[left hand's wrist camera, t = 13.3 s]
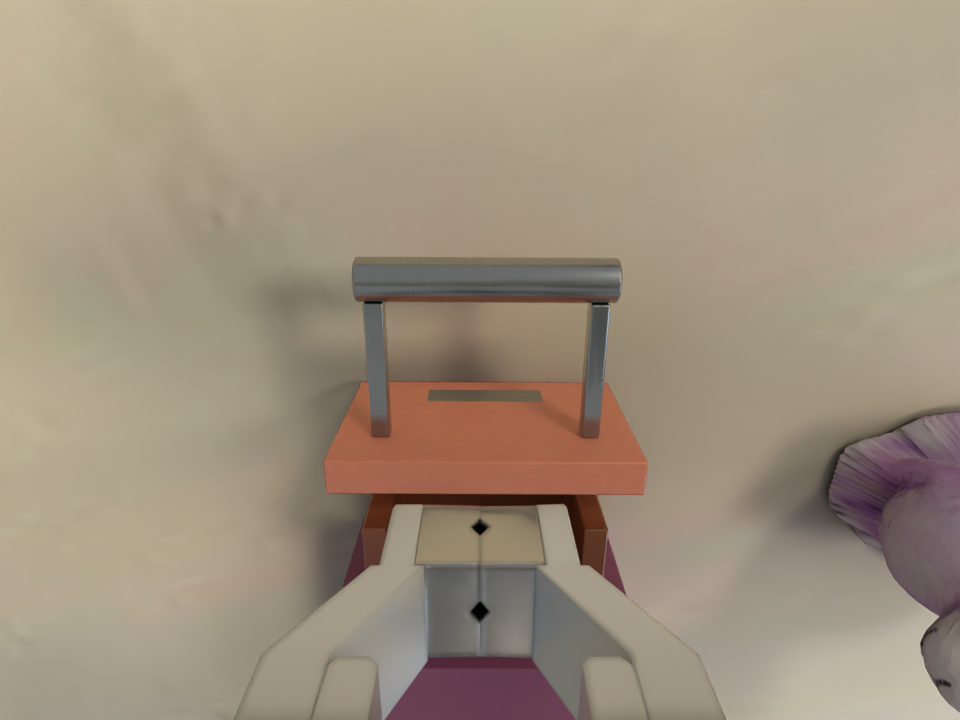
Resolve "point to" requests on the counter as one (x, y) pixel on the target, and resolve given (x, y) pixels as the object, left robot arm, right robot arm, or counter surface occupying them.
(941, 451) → the figurine
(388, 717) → the cabinet
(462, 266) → the drawer
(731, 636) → the counter surface
